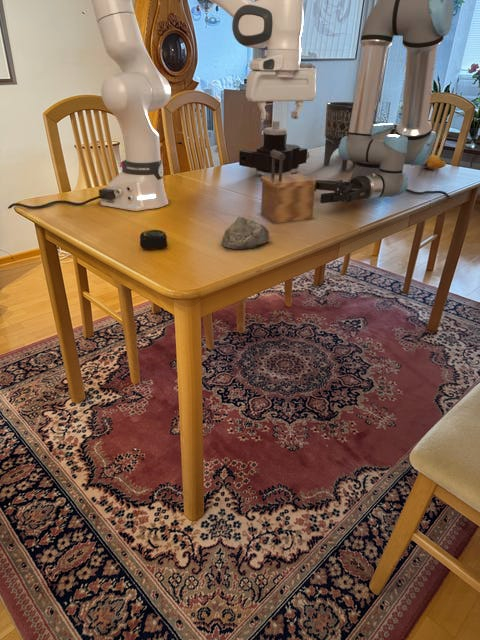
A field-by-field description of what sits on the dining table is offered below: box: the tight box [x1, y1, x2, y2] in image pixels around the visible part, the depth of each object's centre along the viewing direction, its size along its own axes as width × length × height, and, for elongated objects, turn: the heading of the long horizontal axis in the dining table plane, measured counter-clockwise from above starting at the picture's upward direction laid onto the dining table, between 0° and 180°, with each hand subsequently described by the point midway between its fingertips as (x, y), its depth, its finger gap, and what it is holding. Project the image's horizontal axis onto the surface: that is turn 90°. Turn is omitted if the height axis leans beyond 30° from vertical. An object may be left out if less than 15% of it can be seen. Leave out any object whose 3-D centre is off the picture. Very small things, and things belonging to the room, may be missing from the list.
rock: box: [221, 216, 270, 250], centre depth 119 cm, size 13×9×6 cm, turn 131°
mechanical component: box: [238, 120, 311, 177], centre depth 191 cm, size 22×21×30 cm
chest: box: [260, 181, 316, 224], centre depth 141 cm, size 13×10×11 cm
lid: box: [259, 150, 317, 188], centre depth 136 cm, size 14×10×9 cm
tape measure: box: [139, 229, 168, 250], centre depth 117 cm, size 7×7×4 cm
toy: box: [421, 154, 447, 171], centre depth 211 cm, size 11×6×15 cm
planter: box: [323, 101, 356, 172], centre depth 204 cm, size 20×20×26 cm
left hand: (279, 119), depth 128 cm, fingers open, 8 cm apart
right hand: (309, 193), depth 142 cm, fingers open, 13 cm apart
